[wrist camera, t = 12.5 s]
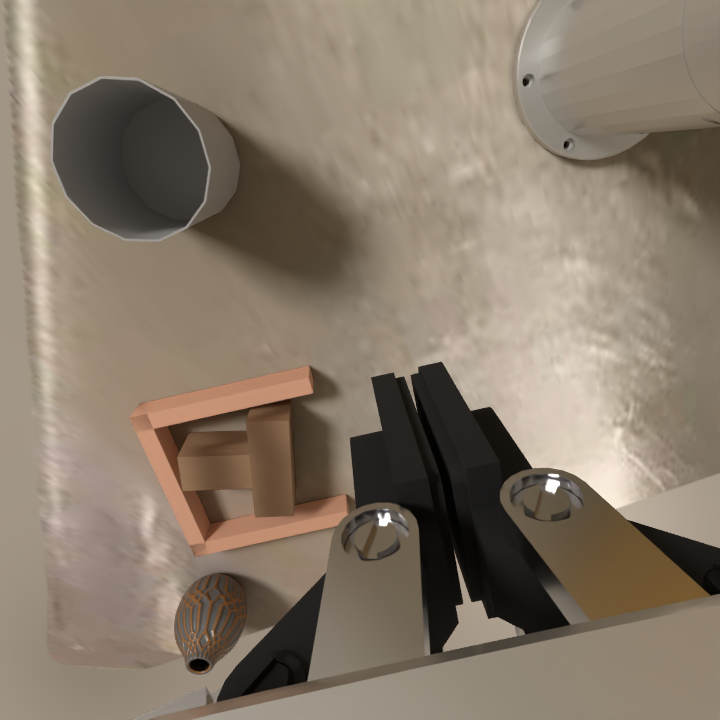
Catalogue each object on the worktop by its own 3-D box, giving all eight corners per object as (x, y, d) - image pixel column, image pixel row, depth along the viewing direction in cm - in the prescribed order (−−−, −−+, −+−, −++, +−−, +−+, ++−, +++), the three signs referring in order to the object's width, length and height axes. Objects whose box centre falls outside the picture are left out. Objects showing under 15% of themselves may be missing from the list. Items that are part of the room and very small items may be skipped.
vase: (172, 579, 50) (143, 658, 42) (228, 553, 50) (209, 629, 42) (209, 618, 53) (189, 700, 45) (263, 594, 52) (252, 674, 44)
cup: (252, 210, 37) (228, 227, 27) (148, 231, 37) (89, 255, 27) (219, 87, 33) (179, 59, 24) (105, 110, 33) (22, 92, 24)
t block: (291, 398, 43) (288, 420, 39) (296, 488, 47) (293, 516, 43) (184, 400, 42) (171, 423, 39) (198, 491, 46) (187, 520, 43)
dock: (309, 365, 42) (308, 377, 40) (348, 505, 48) (350, 523, 46) (139, 403, 42) (129, 417, 40) (201, 538, 49) (195, 556, 46)
